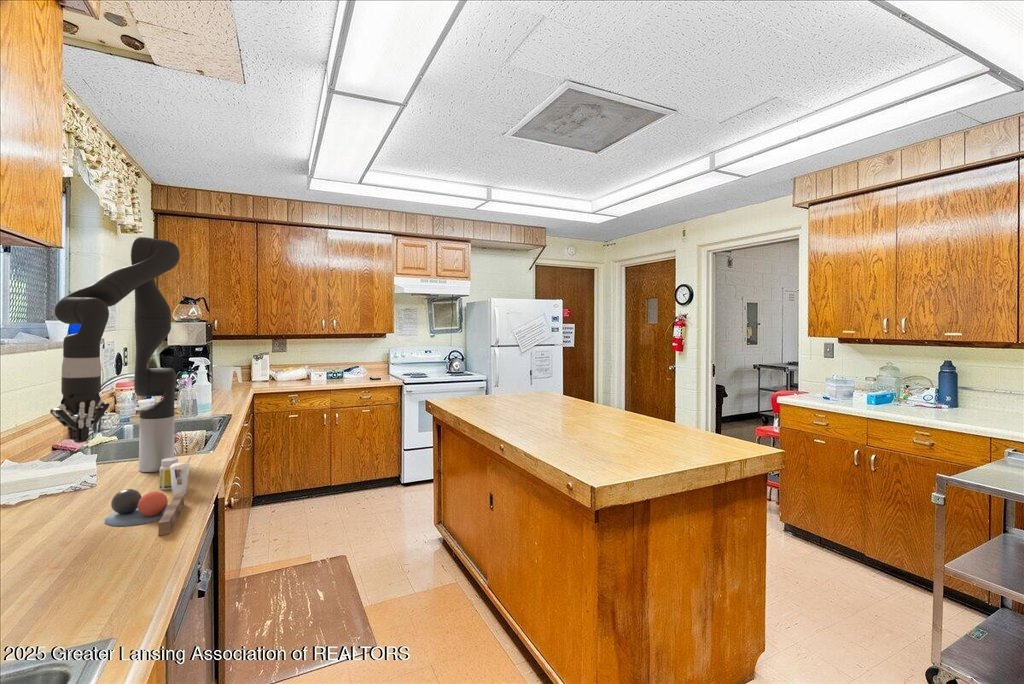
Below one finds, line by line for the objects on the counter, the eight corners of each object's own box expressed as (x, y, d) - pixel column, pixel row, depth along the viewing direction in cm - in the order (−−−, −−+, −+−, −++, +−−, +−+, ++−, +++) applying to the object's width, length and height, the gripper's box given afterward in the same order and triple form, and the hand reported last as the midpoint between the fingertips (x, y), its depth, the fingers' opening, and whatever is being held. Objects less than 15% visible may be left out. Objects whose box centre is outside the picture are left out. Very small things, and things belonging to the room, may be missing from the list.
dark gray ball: (126, 515, 122) (112, 496, 121) (150, 500, 124) (136, 481, 123) (116, 522, 116) (100, 502, 115) (141, 506, 118) (126, 486, 117)
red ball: (169, 514, 121) (147, 507, 122) (176, 492, 121) (155, 485, 122) (150, 523, 115) (128, 515, 116) (158, 499, 115) (136, 492, 116)
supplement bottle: (183, 485, 141) (183, 457, 141) (170, 490, 136) (170, 461, 136) (168, 484, 142) (168, 456, 141) (155, 489, 137) (155, 460, 137)
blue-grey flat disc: (128, 505, 125) (128, 504, 125) (186, 504, 127) (186, 503, 127) (89, 527, 111) (89, 526, 111) (155, 525, 113) (155, 524, 113)
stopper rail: (175, 505, 126) (175, 494, 125) (184, 504, 126) (184, 493, 126) (158, 535, 108) (158, 522, 108) (169, 534, 108) (169, 521, 108)
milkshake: (195, 492, 136) (196, 457, 136) (177, 498, 131) (177, 462, 130) (184, 490, 137) (184, 455, 137) (165, 496, 132) (166, 460, 132)
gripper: (64, 378, 114) (63, 449, 115) (119, 373, 127) (118, 437, 128) (40, 376, 116) (39, 446, 116) (96, 372, 129) (95, 435, 129)
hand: (80, 441), depth 122 cm, fingers closed
